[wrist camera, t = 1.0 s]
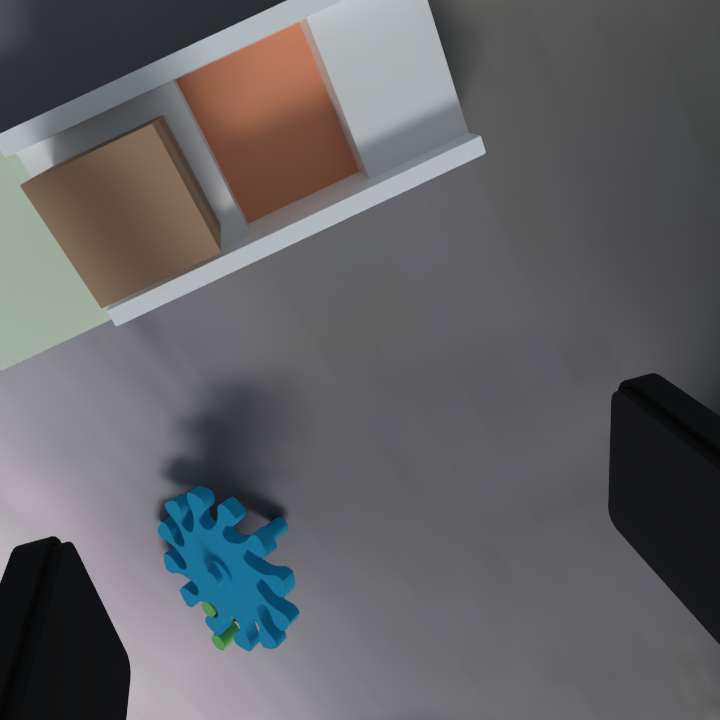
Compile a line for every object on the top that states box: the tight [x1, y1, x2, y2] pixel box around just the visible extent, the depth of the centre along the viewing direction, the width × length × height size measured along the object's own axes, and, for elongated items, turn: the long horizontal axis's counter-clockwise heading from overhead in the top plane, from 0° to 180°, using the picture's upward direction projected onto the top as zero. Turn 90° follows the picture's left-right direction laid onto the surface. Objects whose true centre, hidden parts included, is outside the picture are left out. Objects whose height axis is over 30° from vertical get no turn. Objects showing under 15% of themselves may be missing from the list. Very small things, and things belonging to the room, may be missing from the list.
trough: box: [0, 0, 486, 371], centre depth 28 cm, size 26×9×4 cm, turn 112°
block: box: [20, 115, 221, 309], centre depth 25 cm, size 5×5×5 cm
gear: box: [158, 486, 300, 651], centre depth 37 cm, size 11×6×10 cm
